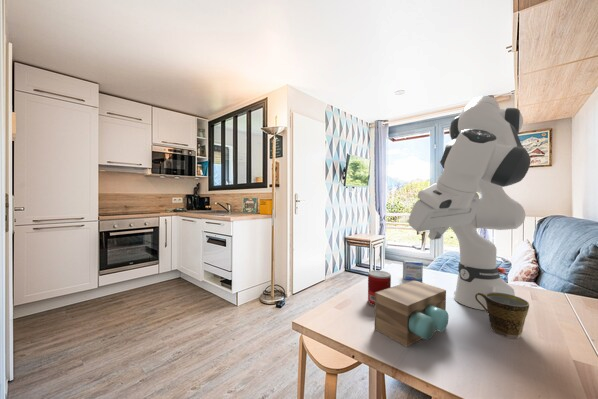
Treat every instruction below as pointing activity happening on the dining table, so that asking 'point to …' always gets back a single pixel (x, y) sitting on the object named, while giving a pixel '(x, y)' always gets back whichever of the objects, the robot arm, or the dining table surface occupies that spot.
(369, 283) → the canned food
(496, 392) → the dining table surface
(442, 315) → the knob
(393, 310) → the block
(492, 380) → the dining table surface
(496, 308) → the ceramic cup
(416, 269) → the medicine box
